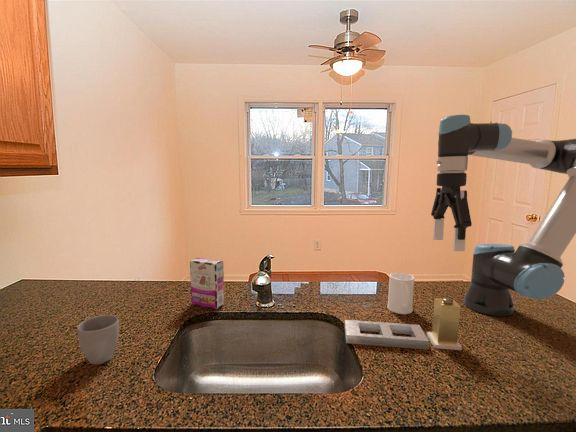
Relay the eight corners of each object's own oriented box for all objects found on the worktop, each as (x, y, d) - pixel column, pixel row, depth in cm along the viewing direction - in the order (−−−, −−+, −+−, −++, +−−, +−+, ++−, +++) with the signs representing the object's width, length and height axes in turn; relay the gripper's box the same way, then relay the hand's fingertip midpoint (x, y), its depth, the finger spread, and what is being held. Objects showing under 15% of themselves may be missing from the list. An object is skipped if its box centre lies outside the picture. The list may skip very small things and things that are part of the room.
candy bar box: (225, 304, 111) (224, 260, 108) (216, 310, 106) (215, 264, 104) (199, 299, 115) (198, 256, 112) (190, 304, 110) (189, 260, 108)
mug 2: (417, 319, 100) (420, 284, 99) (390, 317, 102) (393, 283, 100) (409, 304, 112) (411, 273, 110) (385, 302, 113) (387, 271, 112)
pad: (451, 336, 90) (452, 333, 90) (461, 350, 83) (462, 346, 83) (426, 334, 91) (427, 331, 91) (434, 348, 84) (435, 344, 84)
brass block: (449, 335, 89) (453, 296, 88) (456, 344, 84) (460, 303, 83) (431, 333, 90) (434, 295, 88) (437, 343, 85) (441, 302, 83)
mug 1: (112, 367, 75) (109, 330, 73) (73, 370, 73) (69, 332, 72) (130, 340, 86) (128, 308, 85) (96, 342, 85) (93, 310, 84)
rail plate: (418, 332, 92) (419, 324, 92) (428, 349, 83) (429, 341, 83) (344, 327, 95) (344, 319, 95) (346, 343, 86) (346, 334, 86)
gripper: (422, 172, 100) (419, 235, 103) (459, 172, 75) (454, 256, 78) (446, 171, 99) (442, 235, 103) (491, 172, 75) (484, 256, 78)
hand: (447, 244), depth 91 cm, fingers open, 13 cm apart
